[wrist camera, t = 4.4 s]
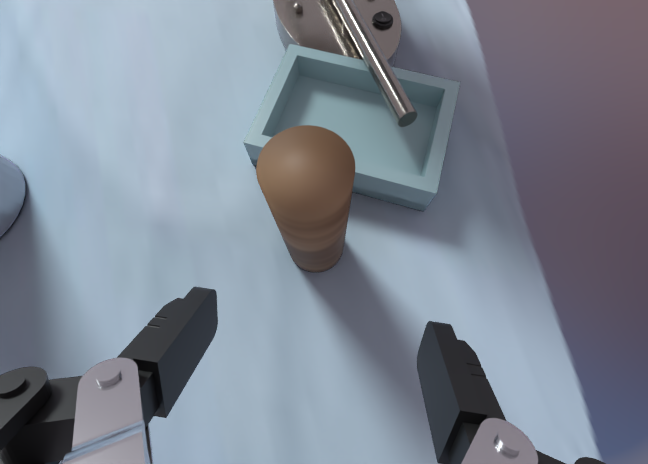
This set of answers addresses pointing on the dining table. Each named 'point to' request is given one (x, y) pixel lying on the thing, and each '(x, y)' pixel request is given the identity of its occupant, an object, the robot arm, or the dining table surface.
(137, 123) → the dining table surface
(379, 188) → the bin
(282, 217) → the dowel
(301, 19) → the light fixture
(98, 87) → the dining table surface
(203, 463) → the dining table surface
